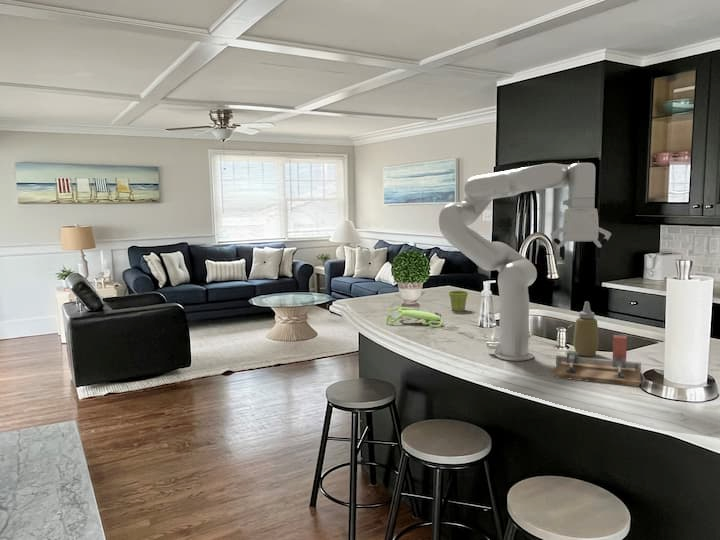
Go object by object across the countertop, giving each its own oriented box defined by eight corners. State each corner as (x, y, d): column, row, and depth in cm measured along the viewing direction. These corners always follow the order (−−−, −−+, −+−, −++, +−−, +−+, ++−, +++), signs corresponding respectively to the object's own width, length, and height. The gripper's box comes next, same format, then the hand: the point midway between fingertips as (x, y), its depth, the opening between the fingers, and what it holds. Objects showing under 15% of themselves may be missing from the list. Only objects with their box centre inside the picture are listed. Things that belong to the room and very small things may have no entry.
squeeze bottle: (602, 353, 189) (603, 301, 186) (593, 359, 183) (595, 304, 180) (578, 350, 194) (579, 298, 192) (568, 355, 188) (570, 302, 186)
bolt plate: (553, 377, 165) (553, 373, 165) (558, 364, 178) (558, 360, 178) (640, 386, 156) (641, 382, 156) (638, 372, 168) (639, 368, 168)
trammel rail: (553, 370, 168) (554, 357, 167) (556, 362, 176) (556, 349, 175) (641, 379, 158) (642, 365, 158) (640, 370, 166) (640, 356, 166)
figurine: (393, 316, 258) (393, 304, 257) (450, 320, 248) (450, 307, 247) (379, 325, 241) (379, 312, 240) (440, 329, 231) (440, 315, 230)
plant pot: (467, 312, 262) (467, 294, 261) (447, 311, 264) (447, 293, 263) (469, 308, 271) (469, 290, 270) (449, 308, 273) (449, 290, 272)
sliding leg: (612, 375, 161) (613, 341, 160) (612, 366, 170) (613, 334, 168) (626, 376, 160) (627, 343, 159) (625, 367, 168) (626, 335, 167)
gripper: (550, 204, 171) (549, 260, 173) (612, 203, 164) (610, 261, 166) (552, 204, 178) (551, 258, 180) (612, 203, 171) (610, 259, 173)
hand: (579, 259), depth 173 cm, fingers open, 9 cm apart
